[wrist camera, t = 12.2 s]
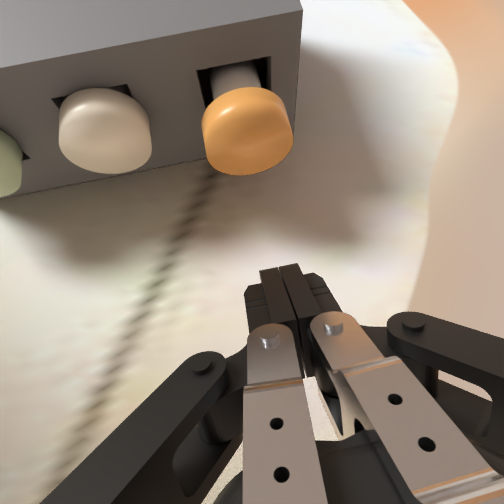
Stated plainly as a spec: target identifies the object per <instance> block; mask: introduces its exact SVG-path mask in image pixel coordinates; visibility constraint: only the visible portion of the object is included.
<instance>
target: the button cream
mask: <svg viewBox="0 0 504 504" xmlns="http://www.w3.org/2000/svg"><path fill="white" fill-rule="evenodd" d="M59 147H60V150H61V151H62V153H63V154H64V156H65V157H66V158H67V159H68V160H69V161H71V162H72V163H74V164H75V165H77V166H79V167H81V168H83V169H86V170H89V171H92V172H97V173H104V174H118V173H125V172H129V171H132V170H135V169H137V168H139V167H141V166H142V165H143V164H145V163H146V162H147V161H148V159H149V158H150V156H151V152H152V144H151V135H150V125H149V118H148V115H147V113H146V111H145V110H144V108H143V107H142V106H141V105H140V104H139V103H138V102H137V101H136V100H134V99H133V98H131V97H130V89H129V87H128V85H127V84H123V85H118V86H113V87H108V88H90V89H84V90H80V91H77V92H75V93H73V94H71V95H69V96H68V97H67V98H66V99H65V100H64V101H63V102H62V104H61V106H60V109H59Z"/></svg>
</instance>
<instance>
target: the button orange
mask: <svg viewBox="0 0 504 504" xmlns="http://www.w3.org/2000/svg"><path fill="white" fill-rule="evenodd" d="M208 73H209V79H210V84H211V89H212V94H213V99H214V101H213V102H212V103H211V104H210V105H209V106H208V107H207V109H206V110H205V112H204V114H203V117H202V122H201V126H202V132H203V138H204V144H205V149H206V155H207V159H208V161H209V163H210V164H211V165H212V166H213V167H214V168H215V169H216V170H218V171H220V172H223V173H226V174H230V175H250V174H255V173H259V172H262V171H265V170H267V169H269V168H272V167H273V166H275V165H277V164H278V163H279V162H281V161H282V160H283V159H284V158H285V157H286V156H287V155H288V153H289V152H290V150H291V148H292V146H293V141H294V140H293V133H292V130H291V126H290V123H289V119H288V116H287V112H286V109H285V106H284V103H283V101H282V100H281V99H280V98H279V97H278V96H277V95H276V94H275V93H273V92H271V91H269V90H267V89H264V88H262V87H261V84H260V80H259V76H258V72H257V69H256V65H255V61H254V59H252V60H247V61H242V62H237V63H231V64H226V65H221V66H216V67H211V68H209V69H208Z"/></svg>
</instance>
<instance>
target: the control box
mask: <svg viewBox="0 0 504 504" xmlns="http://www.w3.org/2000/svg"><path fill="white" fill-rule="evenodd" d="M302 16H303V8H302V6H301V3H300V0H0V130H1V131H3V132H4V133H6V134H7V135H9V136H10V137H11V138H13V139H14V140H15V141H16V142H17V143H18V145H19V146H20V148H21V150H22V153H23V160H22V178H21V186H20V187H19V189H18V190H17V191H15V192H14V193H12V194H10V195H7V196H4V197H0V199H2V198H7V197H12V196H17V195H22V194H27V193H32V192H37V191H42V190H47V189H52V188H57V187H63V186H68V185H73V184H78V183H83V182H88V181H93V180H98V179H103V178H108V177H113V176H118V175H123V174H128V173H133V172H138V171H144V170H149V169H154V168H159V167H164V166H169V165H174V164H179V163H184V162H189V161H194V160H199V159H204V158H207V155H206V149H205V144H204V138H203V132H202V126H201V122H202V117H203V114H204V112H205V110H206V106H208V105H210V104H211V103H212V102H213V101H214V99H213V94H212V89H211V84H210V79H209V73H208V69H209V68H211V67H216V66H221V65H226V64H231V63H237V62H242V61H247V60H252V59H254V61H255V65H256V69H257V72H258V76H259V80H260V84H261V87H262V88H264V89H267V90H269V91H271V92H273V93H275V94H276V95H277V96H278V97H279V98H280V99H281V100H282V101H283V103H284V106H285V109H286V112H287V116H288V119H289V123H290V126H291V130H292V133H293V132H294V119H295V106H296V93H297V80H298V67H299V54H300V41H301V29H302ZM123 84H127V85H128V87H129V89H130V97H131V98H133V99H134V100H136V101H137V102H138V103H139V104H140V105H141V106H142V107H143V108H144V110H145V111H146V113H147V115H148V118H149V125H150V135H151V144H152V152H151V156H150V158H149V159H148V161H147V162H146V163H145V164H143V165H142V166H141V167H139V168H137V169H135V170H132V171H129V172H125V173H118V174H104V173H97V172H92V171H89V170H86V169H83V168H81V167H79V166H77V165H75V164H74V163H72V162H71V161H69V160H68V159H67V158H66V157H65V156H64V154H63V153H62V151H61V150H60V147H59V109H60V106H61V104H62V102H63V101H64V100H65V99H66V98H67V97H68V96H69V95H71V94H73V93H75V92H77V91H80V90H84V89H90V88H108V87H113V86H118V85H123Z"/></svg>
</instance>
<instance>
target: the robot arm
mask: <svg viewBox="0 0 504 504" xmlns="http://www.w3.org/2000/svg"><path fill="white" fill-rule="evenodd" d="M259 273H260V279H261V283H260V284H255V285H250V286H248V287H247V289H246V291H245V293H244V298H245V305H246V312H247V319H248V326H249V336H248V338H247V345H246V346H245V347H244V348H243V349H242V350H241V351H239V352H238V353H236V354H234V355H232V356H230V357H228V358H226V359H225V358H224V357H223V355H221V354H220V353H217V352H213V351H206V352H201V353H197V354H195V355H193V356H191V357H189V358H188V359H187V360H185V361H184V362H183V363H182V364H181V365H180V366H179V367H178V368H177V369H176V370H175V371H174V372H173V373H172V374H171V375H170V376H169V377H168V378H167V379H166V380H165V381H164V382H163V383H162V384H161V385H160V386H159V387H158V388H157V389H156V390H155V391H154V392H153V393H152V394H151V395H150V396H149V397H148V398H147V399H146V400H145V401H144V402H143V403H142V404H141V405H140V406H139V407H138V408H137V409H136V410H134V411H133V412H132V413H131V414H130V415H129V416H128V417H127V418H126V419H125V420H124V421H123V422H122V423H121V424H120V425H119V426H118V427H117V428H116V429H115V430H114V431H113V432H112V433H111V434H110V435H109V436H108V437H107V438H106V439H105V440H104V441H103V442H102V443H101V444H100V445H99V446H98V447H97V448H96V449H95V450H94V451H93V452H92V453H91V454H90V455H89V456H88V457H87V458H86V459H85V460H84V461H83V462H82V463H81V464H80V465H79V466H78V467H77V468H76V469H74V470H73V471H72V472H71V473H70V474H69V475H68V476H67V477H66V478H65V479H64V480H63V481H62V482H61V483H60V484H59V485H58V486H57V487H56V488H55V489H54V490H53V491H52V492H51V493H50V494H49V495H48V496H47V497H46V498H45V499H44V500H43V501H42V502H41V503H40V504H201V503H202V501H203V500H204V498H205V497H206V495H207V494H208V492H209V491H210V489H211V488H212V486H213V485H214V483H215V482H216V480H217V479H218V477H219V476H220V474H221V473H222V471H223V470H224V468H225V467H226V465H227V464H228V462H229V461H230V459H231V458H232V456H233V455H234V453H235V452H236V450H237V449H238V447H239V446H240V444H241V443H242V441H243V470H242V471H241V472H240V473H239V474H237V475H236V476H235V477H234V478H233V479H232V480H231V481H230V482H229V483H228V484H227V485H226V486H225V488H224V489H223V490H222V491H221V493H220V494H219V495H218V497H217V498H216V500H215V501H214V503H213V504H504V339H503V338H500V337H496V336H493V335H490V334H487V333H484V332H480V331H477V330H474V329H471V328H468V327H464V326H461V325H458V324H455V323H452V322H448V321H445V320H442V319H438V318H435V317H432V316H429V315H426V314H422V313H418V312H401V313H397V314H395V315H393V316H391V317H390V318H389V319H388V321H387V327H369V326H362V325H359V324H358V323H357V321H356V320H355V319H354V318H353V317H352V316H351V315H349V314H346V313H343V312H342V310H341V308H340V307H339V305H338V303H337V302H336V300H335V298H334V297H333V295H332V293H331V292H330V290H329V288H328V287H327V285H326V283H325V281H324V280H323V278H322V277H320V276H318V275H316V274H315V273H309V274H304V275H303V273H302V271H301V269H300V267H299V265H298V264H297V263H295V264H290V265H285V266H280V267H279V270H278V267H276V268H271V269H266V270H261V271H259ZM304 370H305V373H306V376H307V378H308V377H313V376H315V378H316V380H317V384H318V392H319V397H320V399H321V402H322V404H323V406H324V408H325V411H326V413H327V415H328V417H329V419H330V422H331V424H332V426H333V428H334V431H335V433H336V435H337V437H338V439H339V441H316V440H315V438H314V433H313V428H312V423H311V418H310V413H309V408H308V403H307V398H306V394H305V389H304V384H303V378H305V374H304ZM439 370H441V371H443V372H446V373H448V374H451V375H453V376H455V377H458V378H460V379H463V380H465V381H468V382H470V383H473V384H475V385H477V386H479V387H481V388H483V389H484V390H485V391H486V392H487V393H488V394H489V395H490V396H491V398H492V401H493V402H491V401H489V400H486V399H484V398H481V397H479V396H477V395H474V394H472V393H470V392H468V391H465V390H463V389H461V388H458V387H456V386H453V385H451V384H449V383H446V382H444V381H442V380H439V379H438V371H439Z"/></svg>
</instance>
